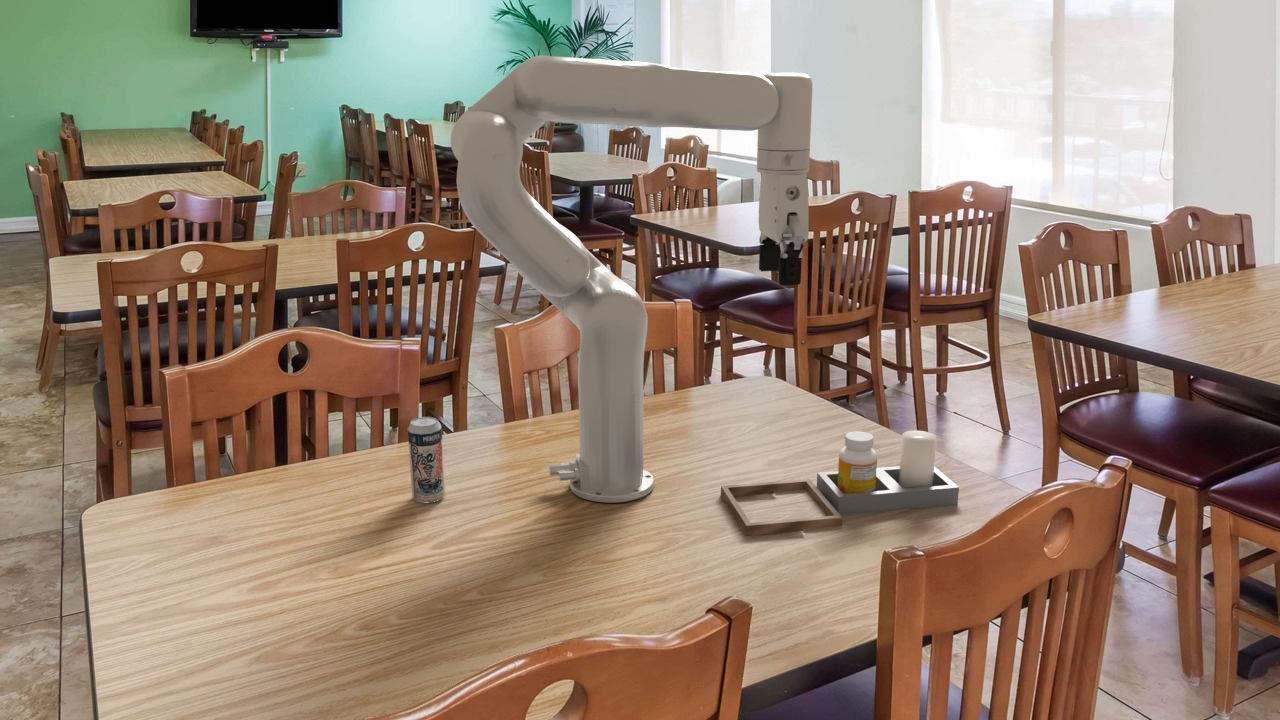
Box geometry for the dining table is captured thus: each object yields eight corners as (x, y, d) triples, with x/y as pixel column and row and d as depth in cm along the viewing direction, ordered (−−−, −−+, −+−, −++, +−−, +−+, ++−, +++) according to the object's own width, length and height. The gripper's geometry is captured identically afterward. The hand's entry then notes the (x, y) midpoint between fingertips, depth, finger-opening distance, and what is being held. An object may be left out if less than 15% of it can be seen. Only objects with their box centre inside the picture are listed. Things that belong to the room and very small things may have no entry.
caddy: (838, 516, 152) (839, 497, 151) (816, 491, 161) (817, 472, 160) (957, 506, 155) (959, 487, 155) (929, 482, 164) (931, 463, 163)
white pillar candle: (906, 501, 156) (910, 443, 153) (892, 488, 161) (896, 431, 158) (937, 499, 157) (942, 441, 154) (923, 486, 161) (927, 429, 159)
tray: (746, 535, 147) (746, 525, 146) (720, 495, 159) (720, 485, 159) (841, 527, 149) (842, 517, 149) (809, 488, 162) (809, 478, 161)
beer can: (413, 506, 156) (408, 428, 153) (411, 493, 160) (406, 417, 157) (447, 503, 157) (442, 425, 154) (444, 490, 162) (439, 414, 158)
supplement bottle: (835, 490, 160) (838, 428, 157) (872, 491, 160) (876, 429, 157) (838, 505, 155) (841, 442, 152) (876, 507, 154) (880, 443, 152)
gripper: (828, 167, 149) (823, 289, 154) (789, 154, 165) (785, 264, 170) (776, 169, 147) (772, 291, 152) (741, 155, 164) (739, 266, 169)
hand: (779, 277), depth 161 cm, fingers open, 9 cm apart
